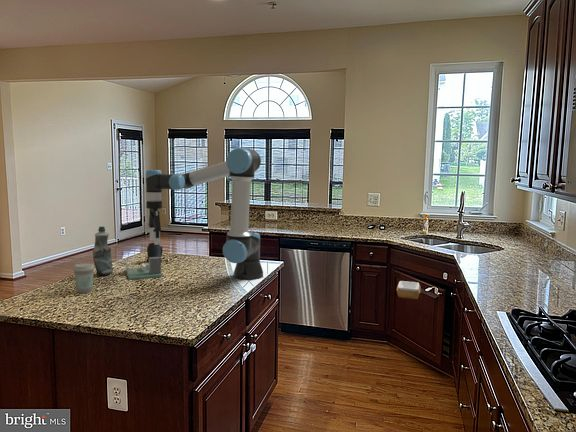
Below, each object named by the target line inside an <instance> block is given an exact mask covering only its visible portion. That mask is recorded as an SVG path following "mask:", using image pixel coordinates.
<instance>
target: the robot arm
mask: <svg viewBox="0 0 576 432" xmlns="http://www.w3.org/2000/svg"><path fill="white" fill-rule="evenodd" d="M261 163H262V159H261V156H260V154H259V153H258V152H257V151H256V150H255V149H251V148H246V147H236V148H234V149H232V150H230V152H229V153H227V155H226V161H222V162H219V163H216V164H212V165H209V166H205V167H203V168H198V169H196V170H193V171H190V172H185V173H179V174H178V173H169V174H167V173H163V172H162V170H161V169H147V170H146V173H145V184H146V186H145V189H146V190H145V199H146V203H145V204H146V209H148V210H149V215H148V226H149V241H153V243H154V245H157V244H159V245H161V230H162V228H161V226H162V225H161V218H160V217H161V216H160V211H159V210H160V209H162V208H163V202H162V200H163V199H162V198H163V195H164V194H163V193H162V192H163V190H174V191H177V190H179V191H180V190H182V189H191V188H193V187H195V186H199V185H202V184H206V183H209V182H212V181H217V180H220V179H222V178H224V179H225V178H226V177H229V178H230V179H231V182H232V183H231V184H232V185H231V204H230V205H231V208H230V227H229V228H230V230H229V231H227V233H226V242H225V243H224V244H223V246H222V254H223V257H224V258H225V259H226V260H227V261H228V262H230V263H232V264H235V267H234V269H233V270H234V271H233V278H235V279H237V280H245V281H252V280H258V279H261V278H263V277H264V270H263V268H262V267H263V266H262V263H261V234H260V233H258V232H252V231H251V232H250V231H249V225H250V224H249V223H250V222H249V220H250V203H251V202H250V201H251V183H252V182H251V181H252V180H254V178H255V173H256V171H257V170H259V168H260V167H261Z"/></svg>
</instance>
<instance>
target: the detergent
mask: <svg viewBox="0 0 576 432" xmlns="http://www.w3.org/2000/svg"><path fill="white" fill-rule="evenodd" d="M94 236H95V237H94V239H95V240H94V247H93V249H92V257H93V265H94V268H95V271H96V272H95V273H96V275H98V276H107V275H110V274H112V273H113V271H114V267H113V260H112V248H111V246H109V245H108V240H109V232H106V228H105V226H103V225H102V226H99V227H98V232H96V233H95V234H94Z"/></svg>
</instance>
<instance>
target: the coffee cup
mask: <svg viewBox="0 0 576 432" xmlns="http://www.w3.org/2000/svg"><path fill="white" fill-rule="evenodd" d="M72 270H73V272H74V280H75V285H76V291H77V293H78V294H89V293H91V292H92V291H93V285H94V272H95V270H96V267H95V264H94V263H91V262H81V263H76V264H74V266H73V269H72Z"/></svg>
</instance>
